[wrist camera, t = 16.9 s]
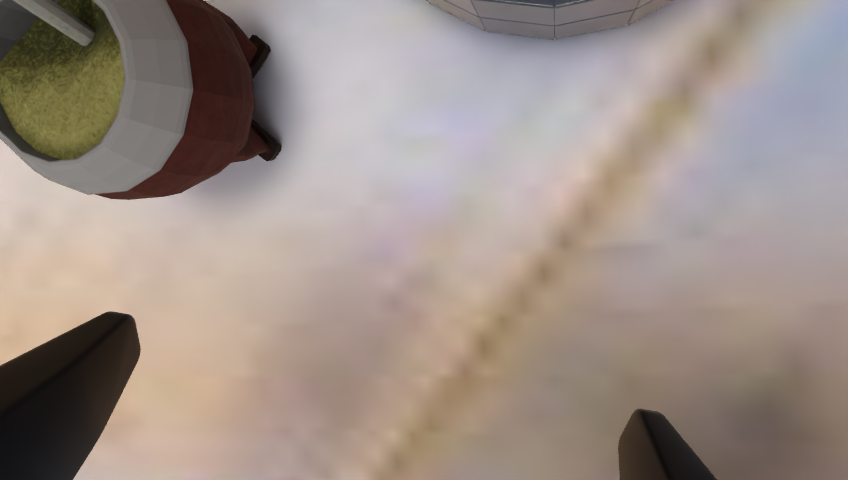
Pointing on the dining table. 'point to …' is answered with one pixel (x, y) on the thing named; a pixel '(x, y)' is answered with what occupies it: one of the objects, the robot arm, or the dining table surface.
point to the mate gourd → (128, 93)
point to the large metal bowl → (549, 15)
